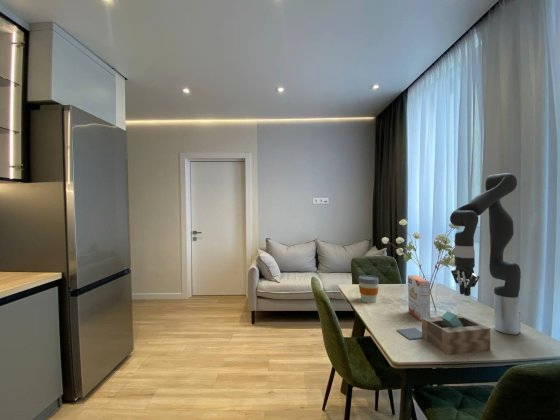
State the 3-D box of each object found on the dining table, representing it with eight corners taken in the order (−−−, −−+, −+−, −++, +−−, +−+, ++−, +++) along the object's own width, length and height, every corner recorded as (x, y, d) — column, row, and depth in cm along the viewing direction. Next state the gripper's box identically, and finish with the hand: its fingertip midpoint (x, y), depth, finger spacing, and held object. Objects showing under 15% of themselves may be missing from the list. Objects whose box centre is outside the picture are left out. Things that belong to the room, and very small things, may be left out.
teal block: (457, 340, 128) (464, 334, 129) (466, 345, 124) (472, 338, 124) (441, 316, 127) (447, 310, 127) (448, 320, 122) (455, 314, 123)
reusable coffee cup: (380, 304, 178) (380, 280, 178) (359, 303, 180) (359, 279, 180) (377, 297, 190) (376, 275, 190) (357, 297, 192) (357, 274, 192)
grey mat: (415, 328, 141) (415, 327, 141) (429, 337, 131) (429, 336, 131) (396, 330, 139) (396, 329, 139) (409, 340, 129) (409, 338, 129)
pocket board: (459, 333, 135) (459, 314, 135) (490, 349, 119) (490, 328, 119) (421, 337, 131) (421, 318, 131) (448, 355, 116) (448, 332, 116)
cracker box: (407, 311, 165) (407, 275, 165) (418, 311, 165) (417, 274, 165) (419, 320, 151) (418, 281, 151) (430, 320, 151) (430, 281, 151)
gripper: (485, 257, 120) (486, 299, 120) (459, 253, 134) (459, 290, 134) (470, 258, 119) (470, 300, 119) (445, 253, 132) (445, 291, 132)
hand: (464, 294), depth 126 cm, fingers closed
